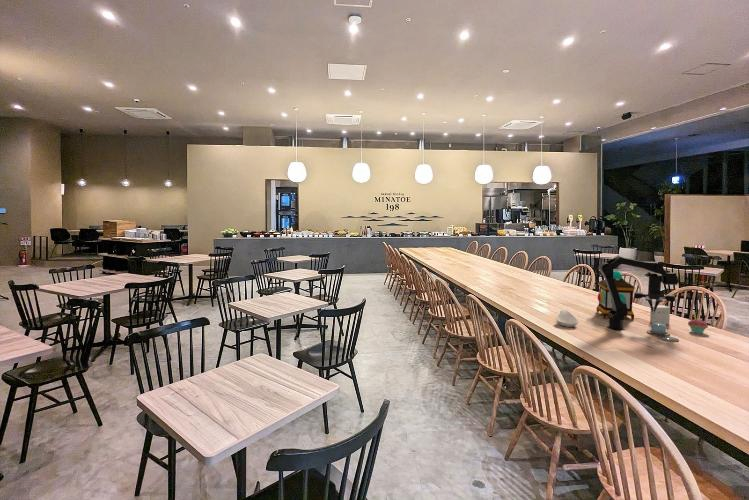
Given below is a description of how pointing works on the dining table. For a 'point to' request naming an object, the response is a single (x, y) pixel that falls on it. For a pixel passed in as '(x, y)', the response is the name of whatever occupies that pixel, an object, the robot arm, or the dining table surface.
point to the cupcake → (697, 325)
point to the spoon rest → (566, 319)
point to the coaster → (668, 338)
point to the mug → (658, 328)
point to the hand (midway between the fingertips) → (653, 311)
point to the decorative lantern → (624, 293)
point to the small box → (660, 314)
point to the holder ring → (657, 334)
